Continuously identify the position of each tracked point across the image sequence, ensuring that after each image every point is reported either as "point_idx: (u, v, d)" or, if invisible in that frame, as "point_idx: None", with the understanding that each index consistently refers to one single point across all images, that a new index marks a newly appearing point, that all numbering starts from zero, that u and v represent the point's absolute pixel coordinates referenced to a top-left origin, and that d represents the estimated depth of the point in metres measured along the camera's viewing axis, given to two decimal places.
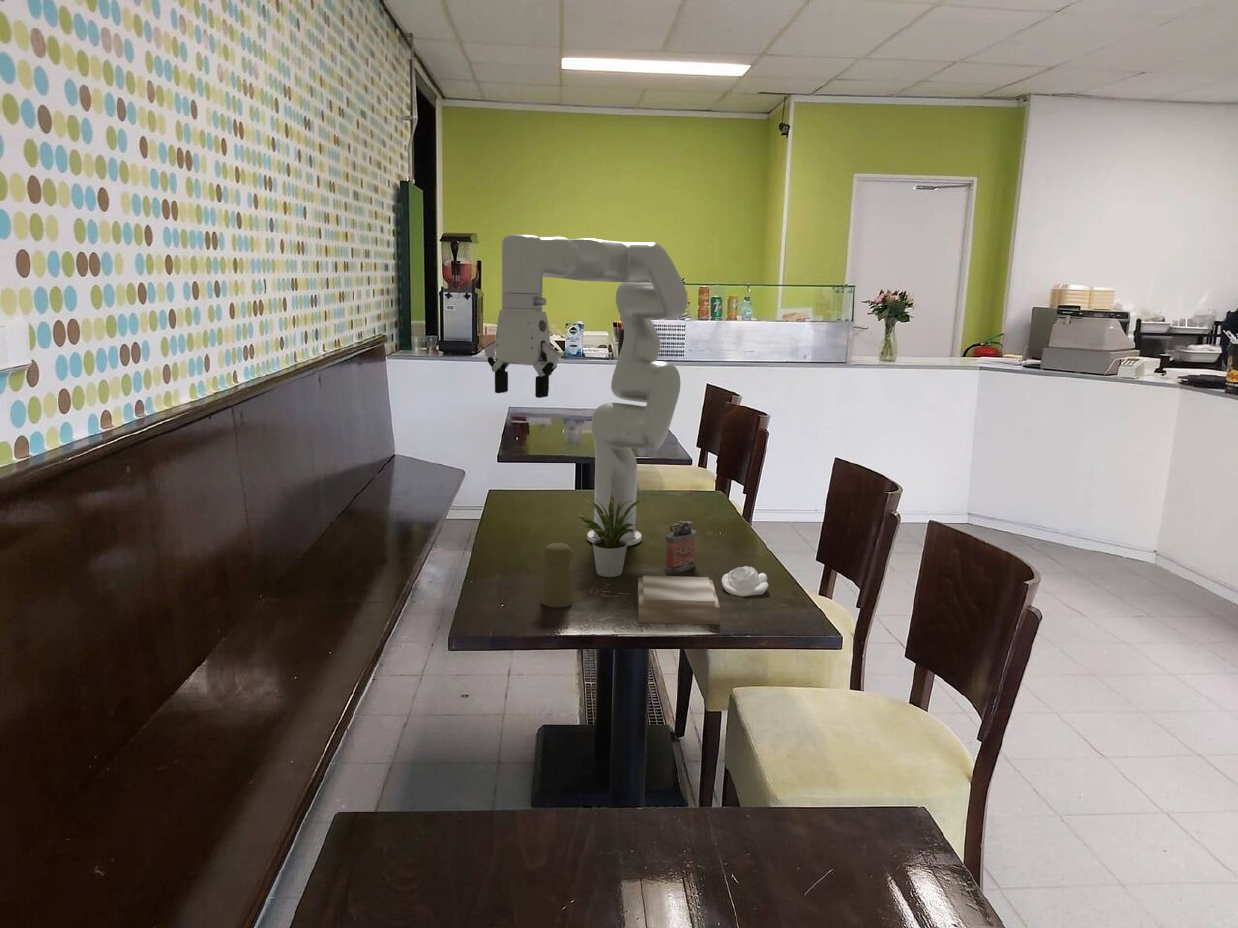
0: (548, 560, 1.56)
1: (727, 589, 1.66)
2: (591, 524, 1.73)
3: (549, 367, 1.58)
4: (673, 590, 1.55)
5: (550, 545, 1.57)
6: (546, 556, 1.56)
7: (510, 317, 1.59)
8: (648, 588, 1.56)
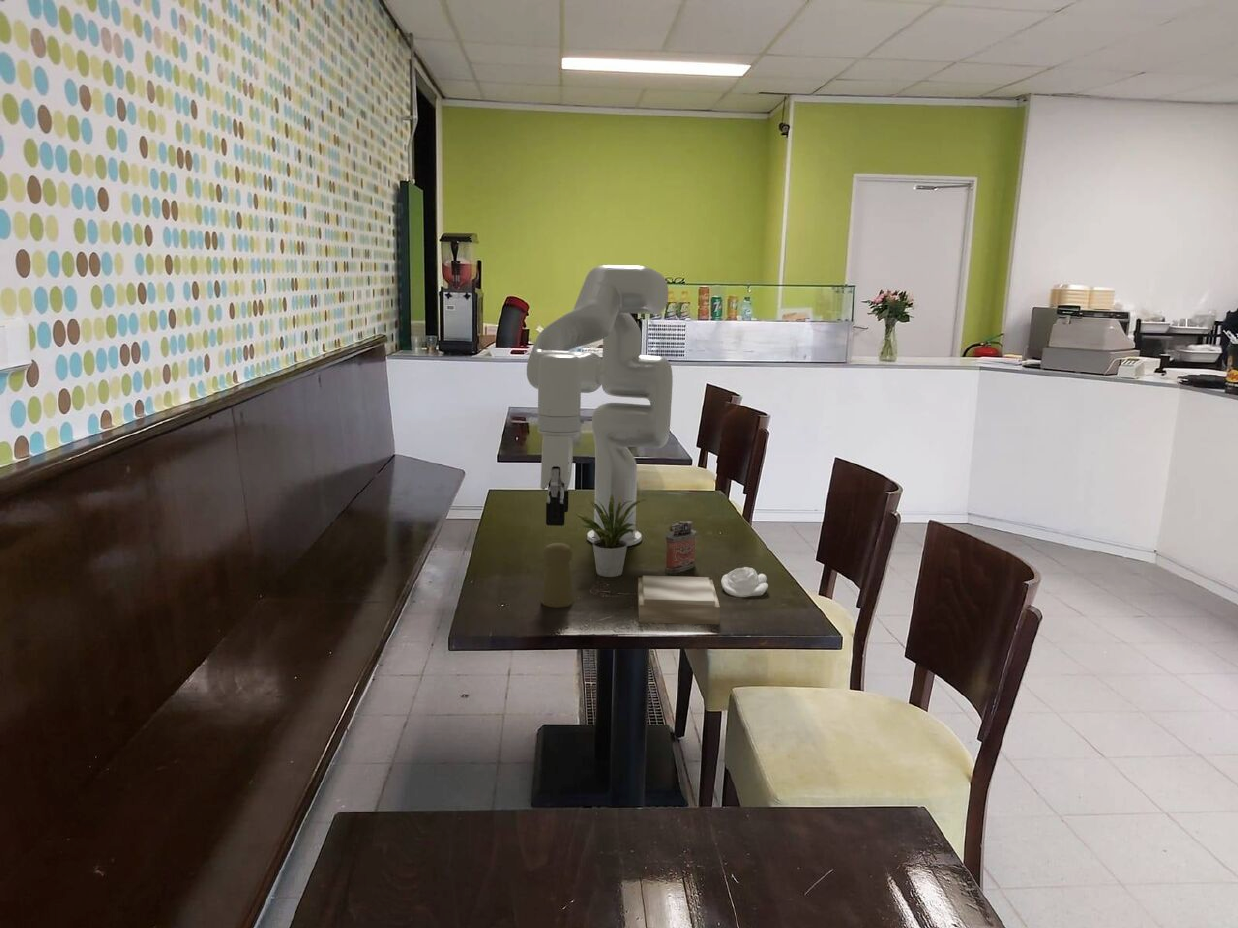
0: (548, 560, 1.56)
1: (727, 590, 1.66)
2: (591, 524, 1.73)
3: None
4: (673, 590, 1.55)
5: (550, 545, 1.57)
6: (546, 556, 1.56)
7: (572, 439, 1.52)
8: (648, 588, 1.56)
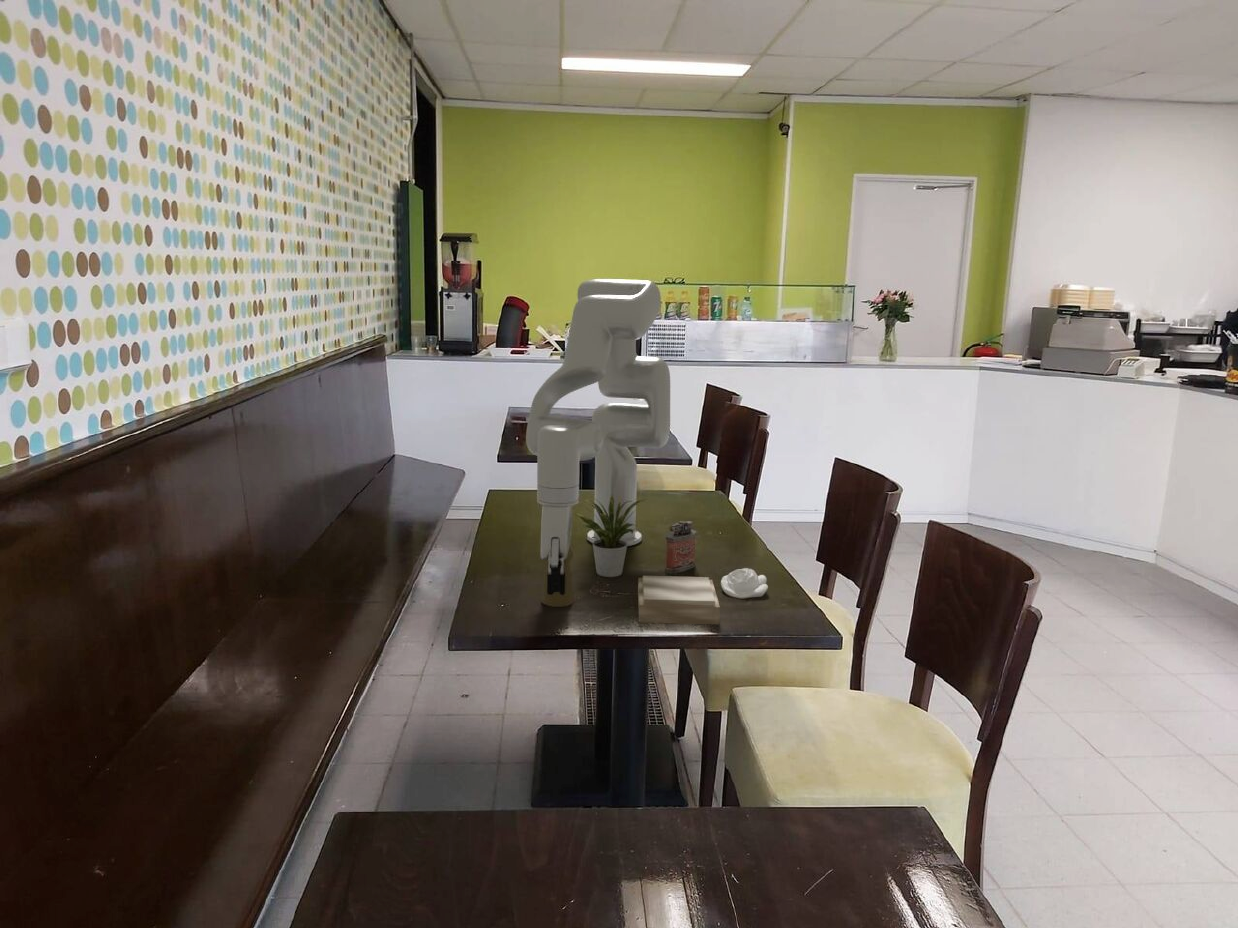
0: None
1: (726, 591, 1.65)
2: (591, 524, 1.73)
3: None
4: (673, 590, 1.55)
5: None
6: None
7: (571, 508, 1.55)
8: (648, 588, 1.56)
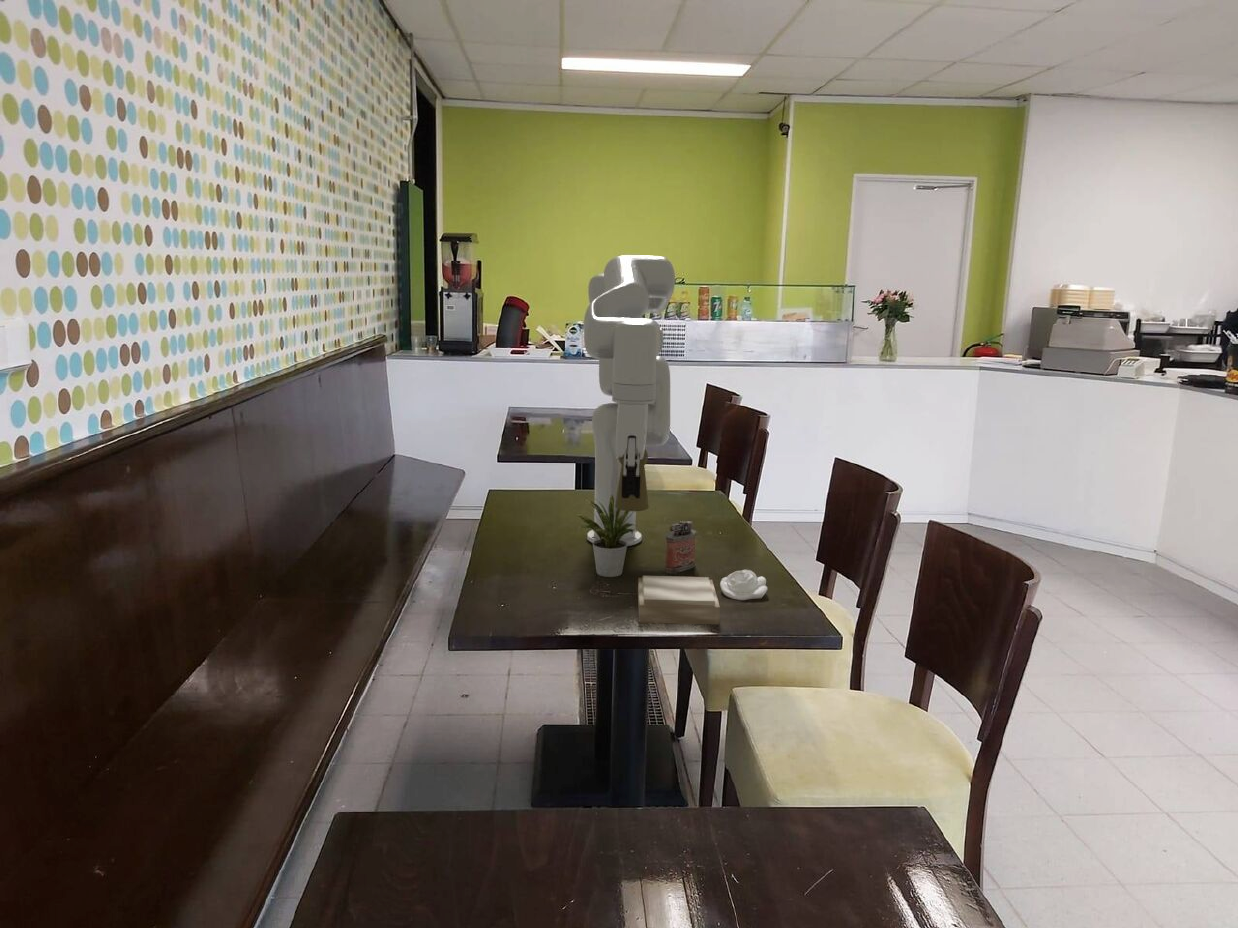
0: (622, 462, 1.52)
1: (725, 593, 1.64)
2: (591, 524, 1.73)
3: None
4: (673, 590, 1.55)
5: None
6: (620, 458, 1.52)
7: (647, 408, 1.50)
8: (648, 588, 1.56)
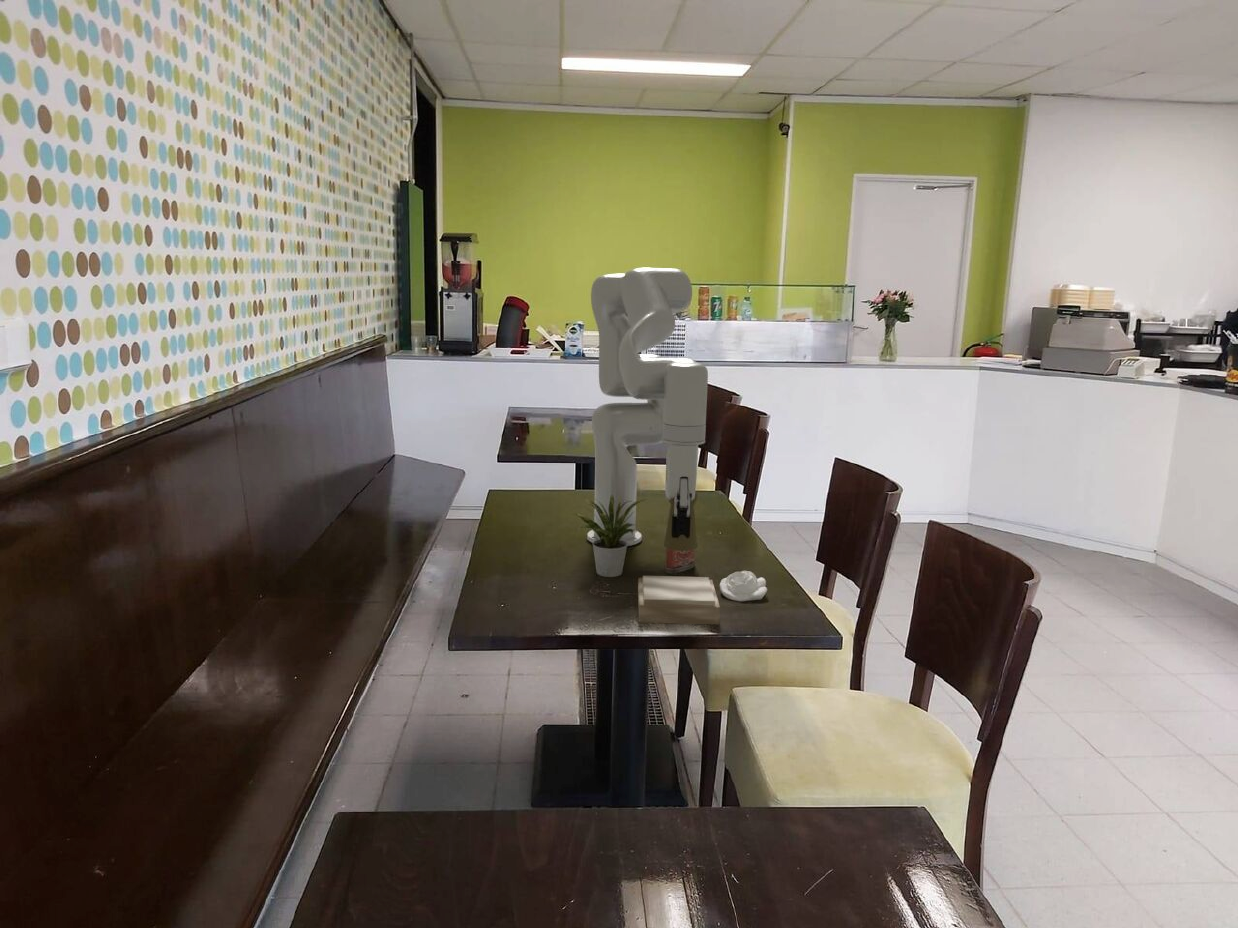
0: (672, 501, 1.52)
1: (725, 594, 1.63)
2: (591, 524, 1.73)
3: None
4: (673, 590, 1.55)
5: None
6: None
7: None
8: (648, 588, 1.56)
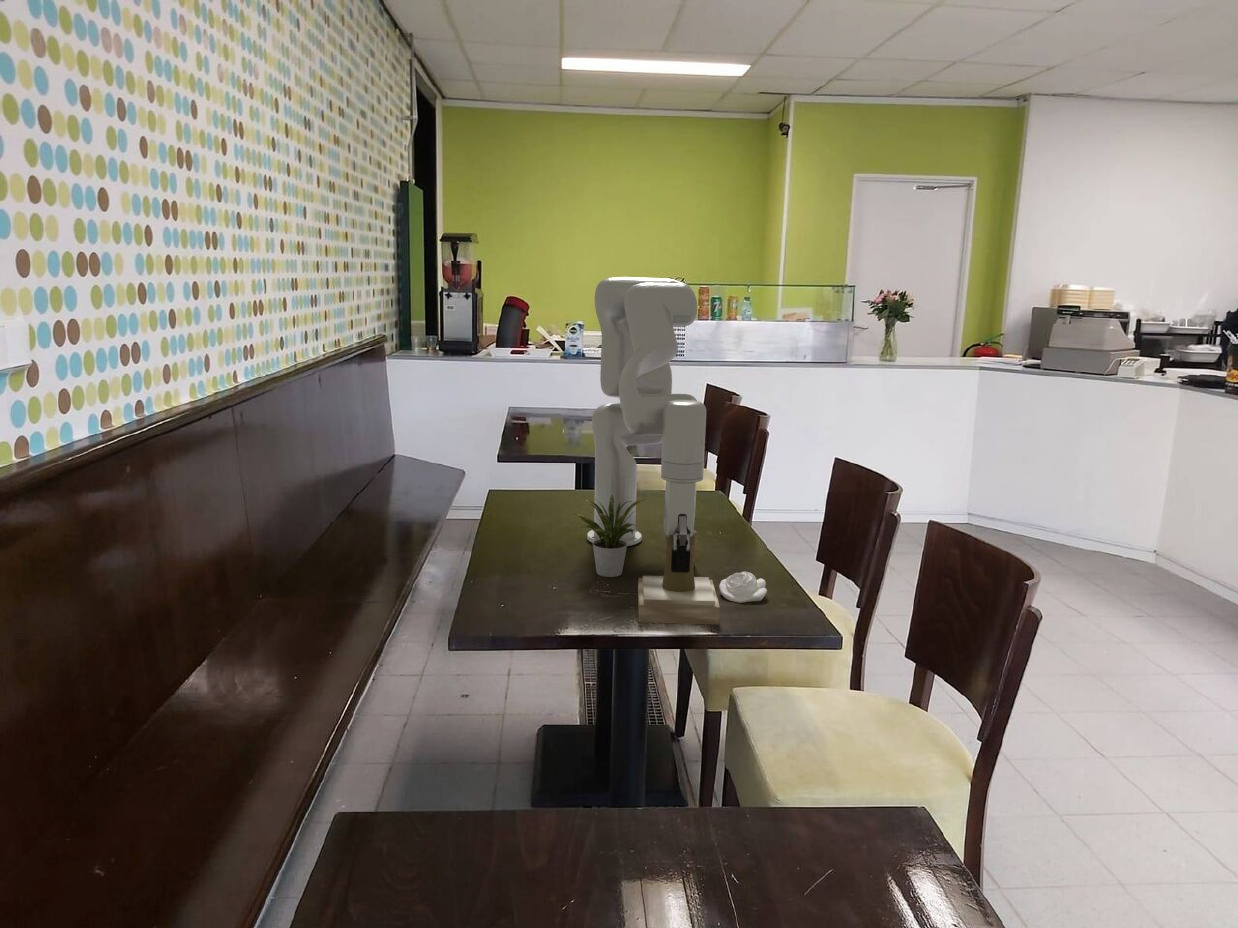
0: (669, 543, 1.54)
1: (725, 595, 1.63)
2: (591, 524, 1.73)
3: None
4: None
5: None
6: (667, 539, 1.55)
7: None
8: (648, 588, 1.56)
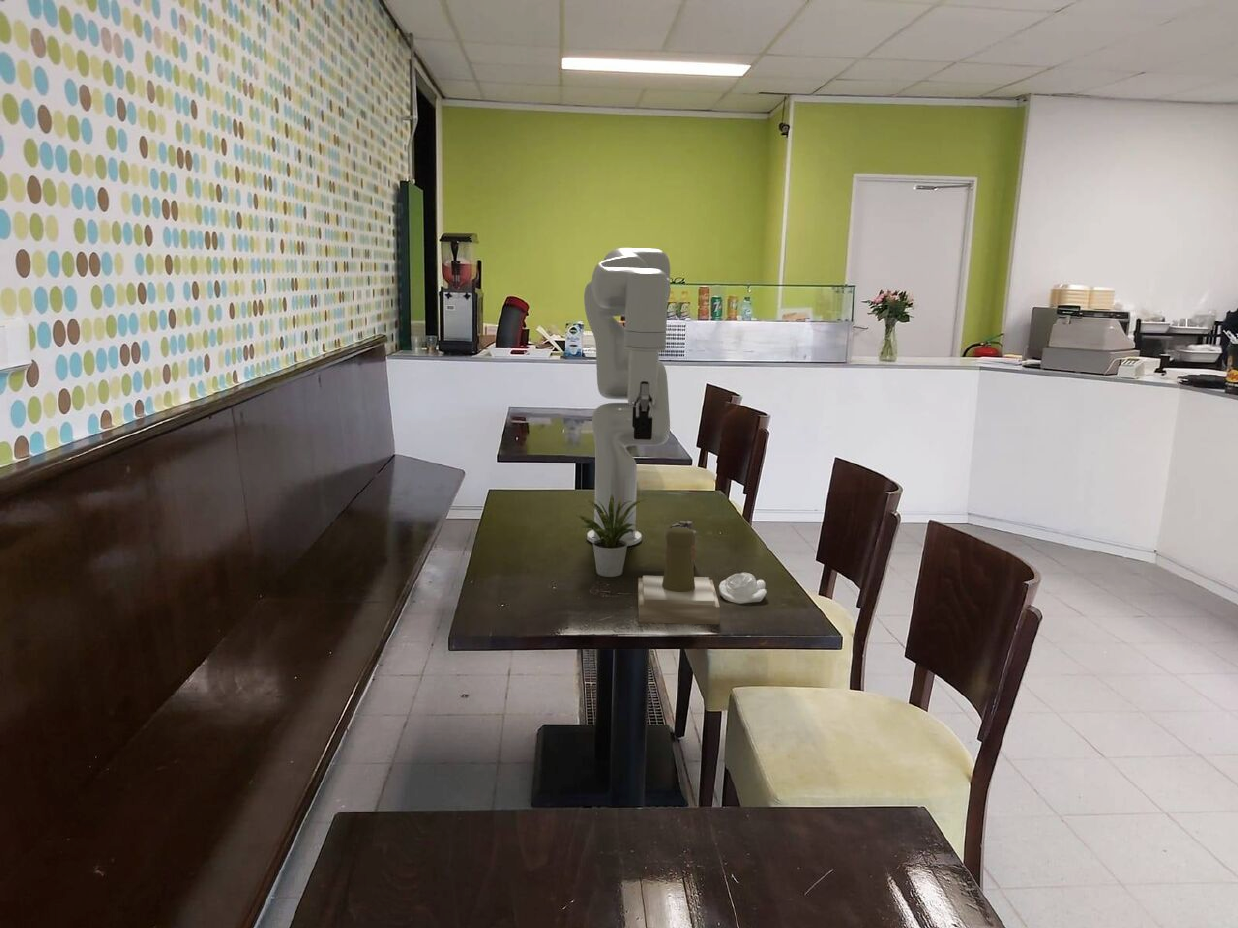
0: (669, 543, 1.54)
1: (724, 596, 1.62)
2: (591, 524, 1.73)
3: None
4: None
5: (673, 528, 1.55)
6: (667, 539, 1.55)
7: (658, 355, 1.56)
8: (648, 588, 1.56)
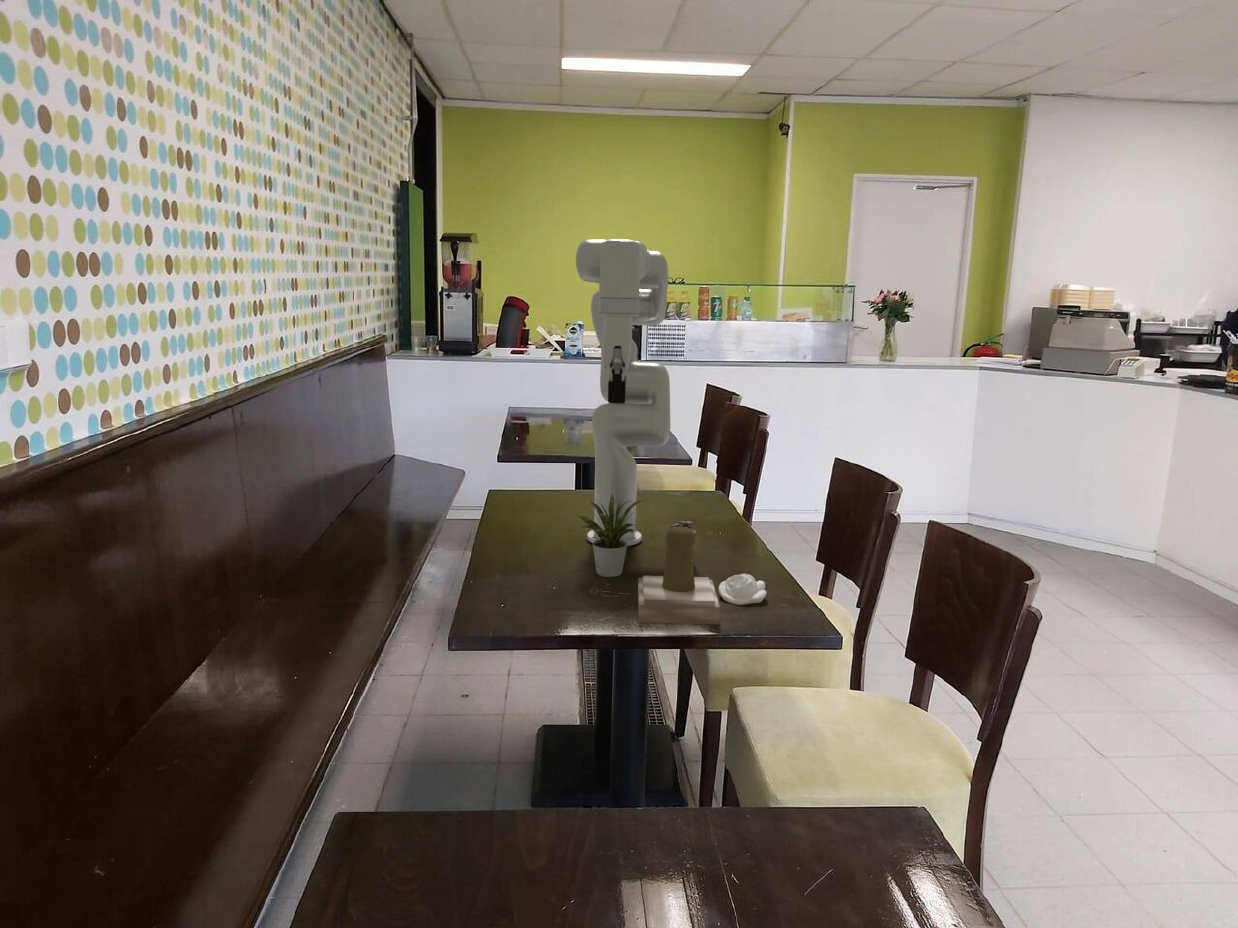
0: (669, 543, 1.54)
1: (724, 597, 1.62)
2: (591, 524, 1.73)
3: None
4: None
5: (673, 528, 1.55)
6: (667, 539, 1.55)
7: None
8: (648, 588, 1.56)
